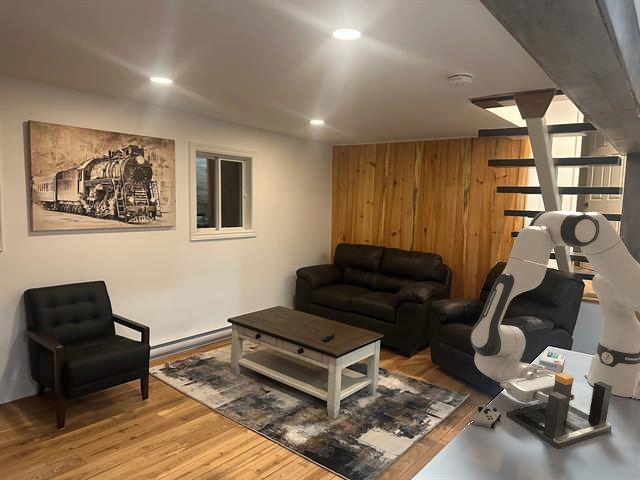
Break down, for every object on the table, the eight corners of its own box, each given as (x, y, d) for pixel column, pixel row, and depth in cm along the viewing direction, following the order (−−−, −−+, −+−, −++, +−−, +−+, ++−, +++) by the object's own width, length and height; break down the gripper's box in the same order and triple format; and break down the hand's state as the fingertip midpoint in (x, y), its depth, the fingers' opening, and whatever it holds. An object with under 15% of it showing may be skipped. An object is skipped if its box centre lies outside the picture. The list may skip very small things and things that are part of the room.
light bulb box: (539, 379, 148) (543, 349, 147) (561, 385, 145) (566, 355, 143) (534, 390, 140) (539, 359, 138) (558, 397, 136) (562, 365, 134)
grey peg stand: (556, 403, 132) (562, 364, 130) (611, 432, 118) (618, 388, 116) (505, 416, 122) (511, 374, 121) (557, 449, 108) (565, 402, 106)
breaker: (556, 414, 122) (562, 372, 120) (567, 420, 119) (573, 377, 117) (549, 416, 120) (555, 374, 119) (559, 422, 118) (566, 379, 116)
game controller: (477, 406, 125) (494, 398, 122) (489, 424, 124) (506, 415, 120) (466, 419, 118) (484, 411, 115) (479, 438, 116) (497, 430, 113)
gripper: (497, 373, 125) (540, 395, 113) (544, 364, 134) (588, 383, 122) (495, 393, 126) (536, 417, 114) (542, 383, 135) (585, 404, 123)
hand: (564, 400), depth 118 cm, fingers open, 6 cm apart
